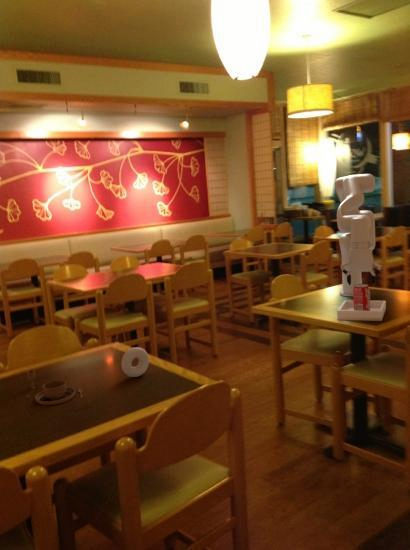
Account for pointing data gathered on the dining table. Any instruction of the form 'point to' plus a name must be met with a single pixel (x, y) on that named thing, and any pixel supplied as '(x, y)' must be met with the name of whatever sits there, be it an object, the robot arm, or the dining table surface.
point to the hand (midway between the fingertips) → (361, 284)
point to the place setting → (53, 390)
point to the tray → (349, 313)
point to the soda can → (361, 297)
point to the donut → (141, 365)
